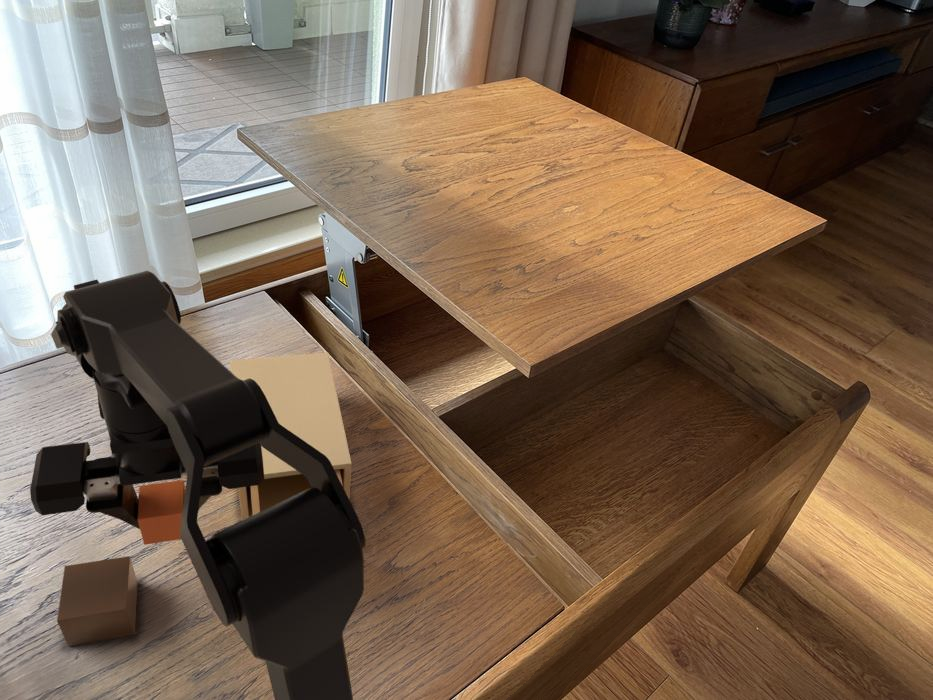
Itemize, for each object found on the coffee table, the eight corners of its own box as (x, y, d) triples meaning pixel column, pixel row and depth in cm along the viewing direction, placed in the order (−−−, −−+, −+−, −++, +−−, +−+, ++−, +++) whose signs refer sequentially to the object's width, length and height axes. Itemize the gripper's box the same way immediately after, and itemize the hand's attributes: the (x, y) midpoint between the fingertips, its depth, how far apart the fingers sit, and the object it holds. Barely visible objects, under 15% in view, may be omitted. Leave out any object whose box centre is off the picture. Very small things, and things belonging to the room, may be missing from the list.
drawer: (363, 600, 77) (366, 568, 73) (254, 620, 74) (250, 587, 70) (332, 440, 94) (333, 407, 90) (242, 451, 91) (239, 416, 87)
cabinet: (349, 506, 88) (351, 463, 82) (242, 521, 84) (237, 477, 79) (327, 395, 101) (328, 352, 96) (234, 404, 98) (230, 360, 92)
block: (189, 538, 69) (183, 512, 66) (144, 545, 68) (137, 519, 65) (188, 505, 72) (183, 479, 69) (145, 511, 71) (138, 485, 68)
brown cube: (134, 634, 72) (126, 608, 69) (68, 646, 70) (56, 620, 67) (137, 582, 76) (129, 555, 73) (75, 592, 75) (64, 565, 71)
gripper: (250, 338, 68) (259, 447, 78) (28, 355, 62) (68, 471, 72) (260, 421, 60) (268, 531, 70) (7, 450, 55) (55, 566, 65)
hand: (166, 521), depth 70 cm, fingers closed on block, 4 cm apart
